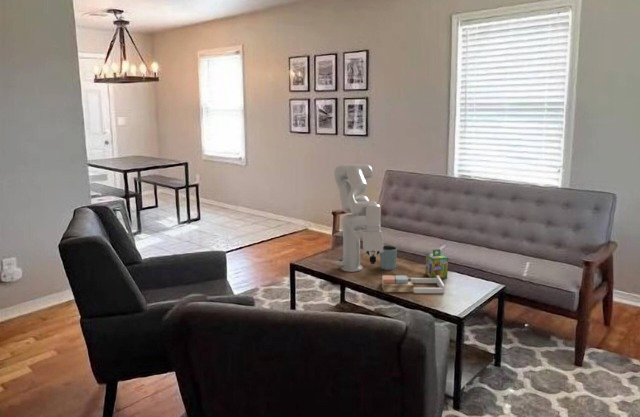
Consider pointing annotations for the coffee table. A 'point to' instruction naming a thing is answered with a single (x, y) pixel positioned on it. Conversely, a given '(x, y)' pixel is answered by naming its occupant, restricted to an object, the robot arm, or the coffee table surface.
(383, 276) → the tile
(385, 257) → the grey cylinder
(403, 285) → the wooden tray
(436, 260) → the chalk box
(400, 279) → the tile
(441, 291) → the white u-shaped bracket
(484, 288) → the coffee table surface
